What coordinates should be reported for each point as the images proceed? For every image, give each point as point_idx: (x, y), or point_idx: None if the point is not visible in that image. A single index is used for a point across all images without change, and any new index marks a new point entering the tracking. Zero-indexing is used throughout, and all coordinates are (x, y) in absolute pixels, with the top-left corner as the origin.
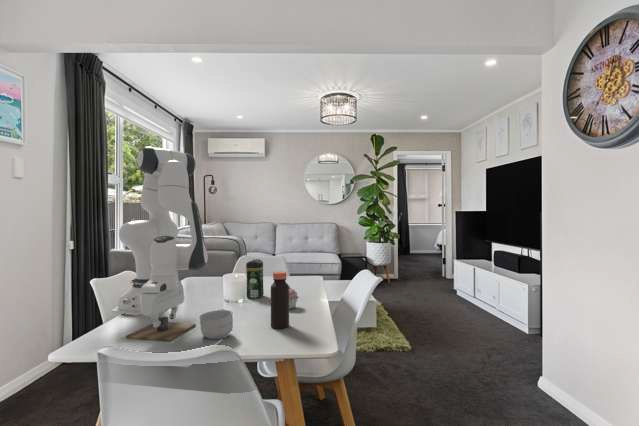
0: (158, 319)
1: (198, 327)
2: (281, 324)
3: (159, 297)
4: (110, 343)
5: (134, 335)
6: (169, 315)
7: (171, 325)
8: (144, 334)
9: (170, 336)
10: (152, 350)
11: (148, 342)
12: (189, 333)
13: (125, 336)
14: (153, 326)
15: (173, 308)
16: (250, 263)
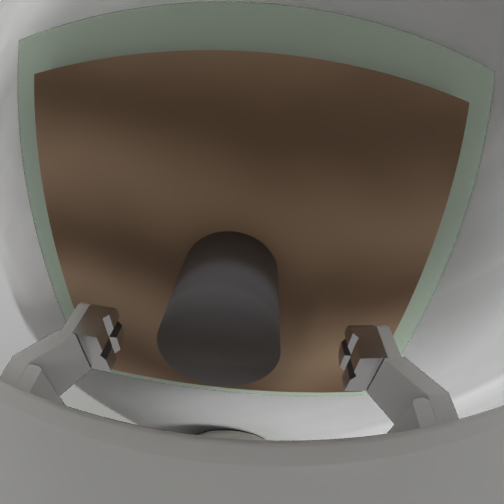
0: (158, 335)
1: (339, 392)
2: None
3: None
4: (10, 27)
5: (51, 132)
6: (357, 350)
7: (343, 290)
8: (86, 196)
9: (122, 361)
10: (25, 310)
11: (49, 266)
12: (236, 391)
13: (91, 20)
14: (79, 305)
15: (397, 421)
16: None
